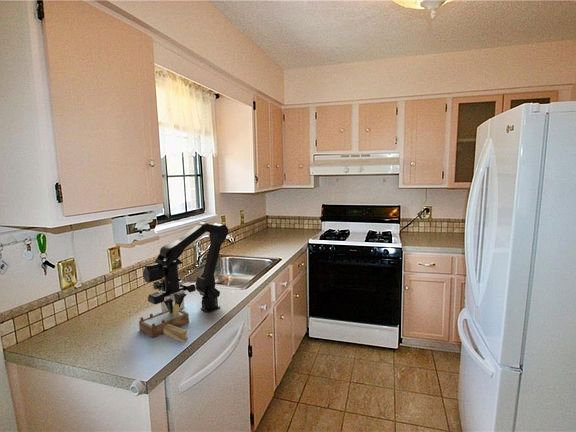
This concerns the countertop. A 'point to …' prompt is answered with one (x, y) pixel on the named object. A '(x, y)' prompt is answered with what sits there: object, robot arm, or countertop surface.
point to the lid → (165, 316)
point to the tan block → (175, 332)
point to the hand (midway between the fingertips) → (174, 312)
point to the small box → (163, 305)
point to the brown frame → (158, 329)
